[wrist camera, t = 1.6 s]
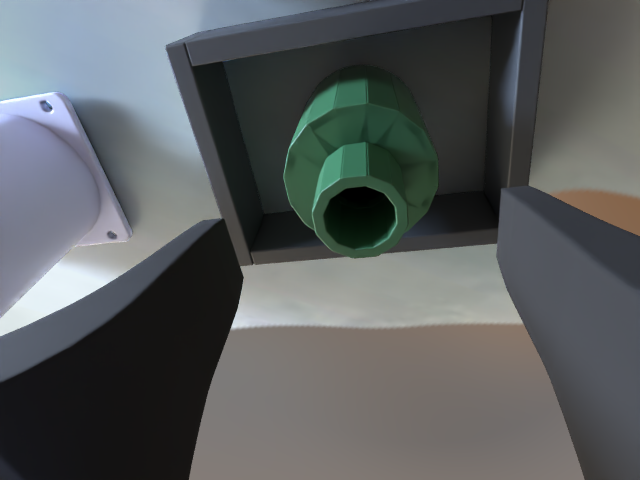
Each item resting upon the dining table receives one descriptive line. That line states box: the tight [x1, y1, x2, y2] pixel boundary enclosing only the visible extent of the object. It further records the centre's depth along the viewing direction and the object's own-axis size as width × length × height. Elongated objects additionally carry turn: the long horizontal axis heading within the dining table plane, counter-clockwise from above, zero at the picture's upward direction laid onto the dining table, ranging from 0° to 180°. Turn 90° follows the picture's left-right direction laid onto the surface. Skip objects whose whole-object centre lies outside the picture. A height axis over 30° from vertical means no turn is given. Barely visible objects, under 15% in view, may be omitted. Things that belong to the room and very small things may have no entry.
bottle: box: [283, 65, 439, 258], centre depth 15 cm, size 5×5×8 cm
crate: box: [165, 0, 549, 266], centre depth 17 cm, size 13×10×4 cm
